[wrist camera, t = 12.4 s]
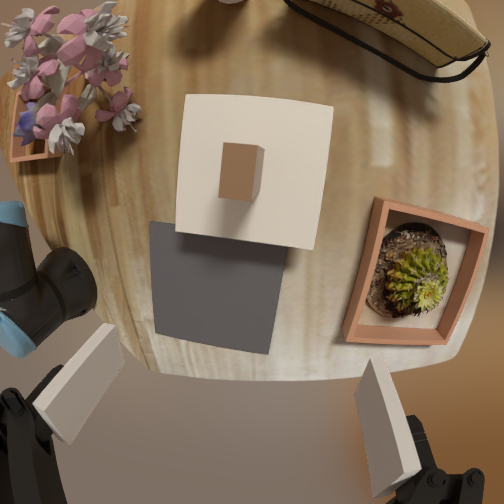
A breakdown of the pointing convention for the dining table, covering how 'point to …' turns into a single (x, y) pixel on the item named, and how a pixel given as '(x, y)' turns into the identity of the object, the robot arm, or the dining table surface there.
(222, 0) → the foam cup
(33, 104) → the flower
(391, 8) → the clutch purse
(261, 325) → the rubber mat
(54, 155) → the flower tray
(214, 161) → the board
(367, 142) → the dining table surface
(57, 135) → the flower
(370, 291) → the cactus
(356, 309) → the cactus tray
